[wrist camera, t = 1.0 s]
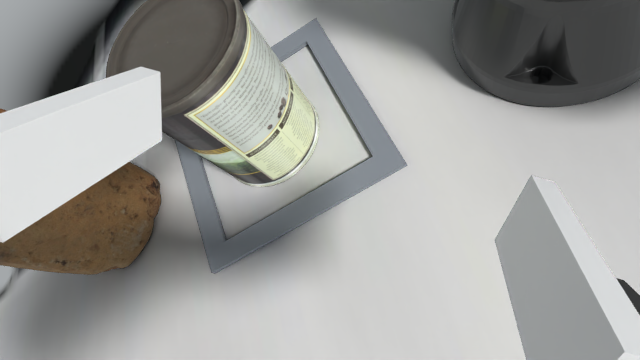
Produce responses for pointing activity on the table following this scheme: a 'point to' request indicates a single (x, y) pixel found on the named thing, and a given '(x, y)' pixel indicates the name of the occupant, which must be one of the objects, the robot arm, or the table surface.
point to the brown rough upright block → (91, 227)
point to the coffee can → (220, 87)
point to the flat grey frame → (321, 198)
